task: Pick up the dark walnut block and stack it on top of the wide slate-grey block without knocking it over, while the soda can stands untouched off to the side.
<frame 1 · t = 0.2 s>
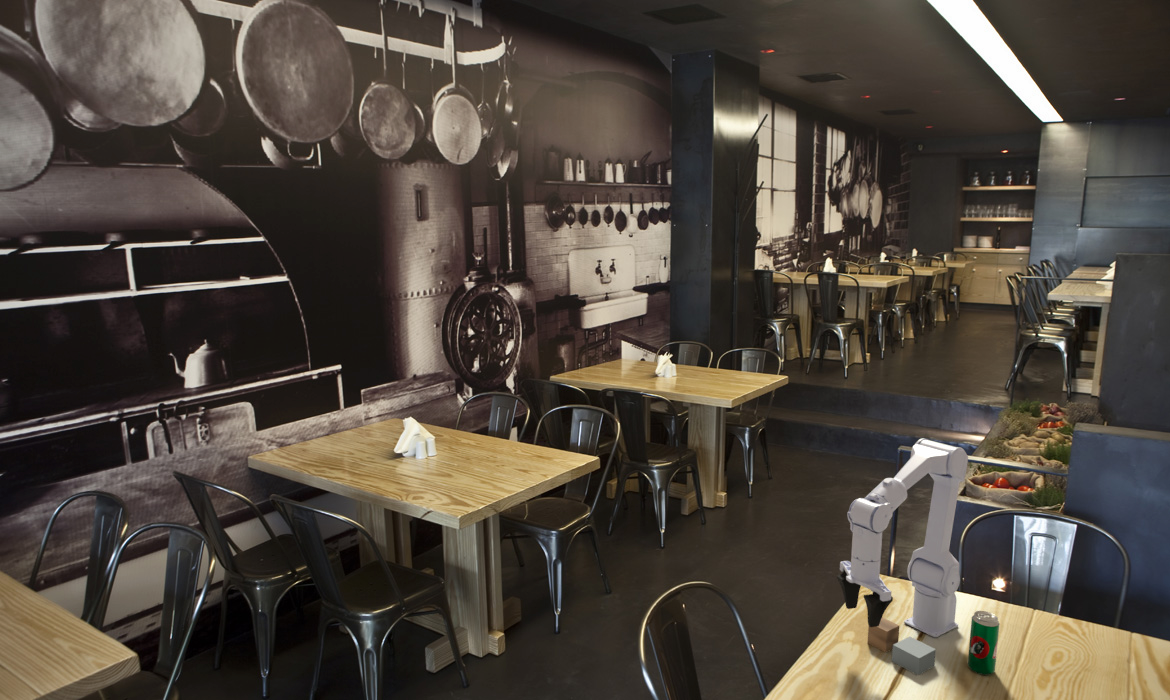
hand: (862, 616, 157), 10 cm above the table, tool pointing down, fingers open, 7 cm apart
soda can: (980, 670, 155), on the table
slate block: (912, 664, 157), on the table
walnut block: (882, 645, 164), on the table
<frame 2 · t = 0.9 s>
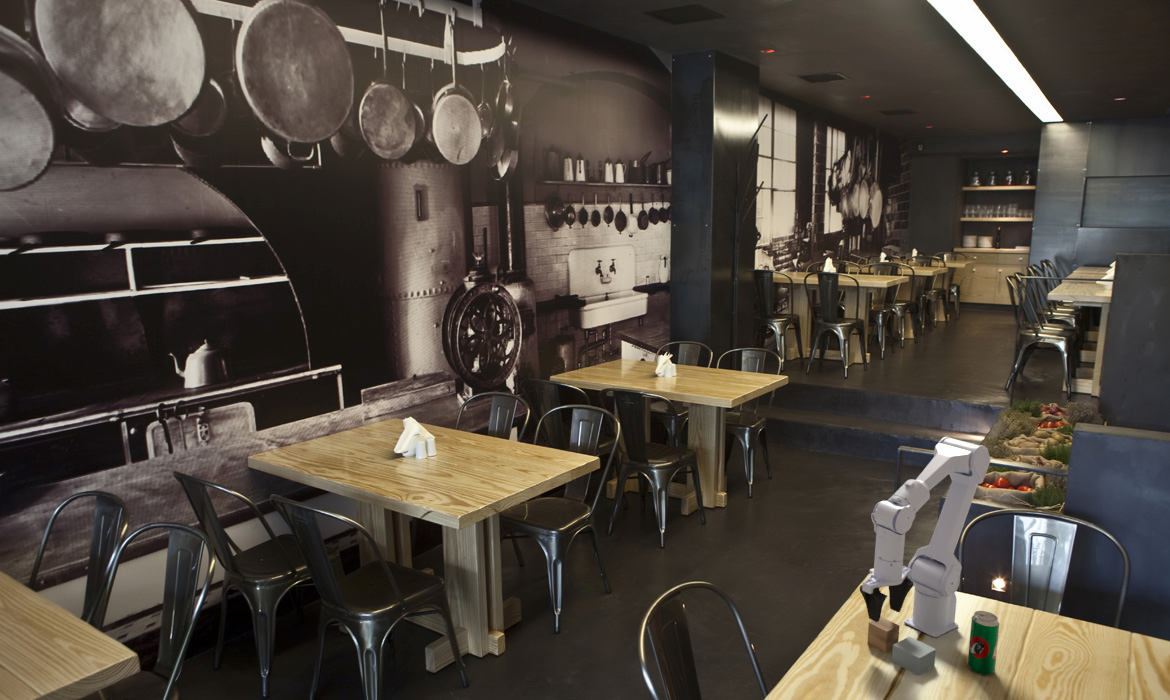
hand: (884, 614, 163), 7 cm above the table, tool pointing down, fingers open, 7 cm apart
nothing on the table moved.
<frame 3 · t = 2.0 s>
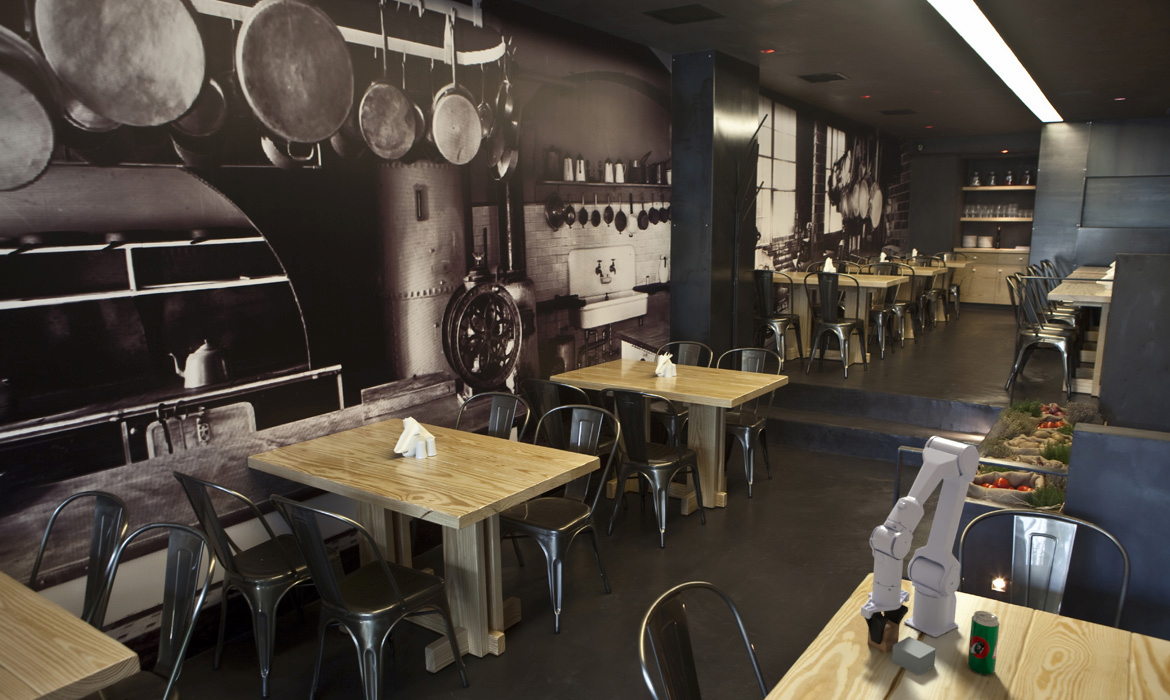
hand: (883, 638, 164), 1 cm above the table, tool pointing down, fingers closed on walnut block, 4 cm apart
walnut block: (882, 644, 164), on the table, touching gripper
everything else where it was.
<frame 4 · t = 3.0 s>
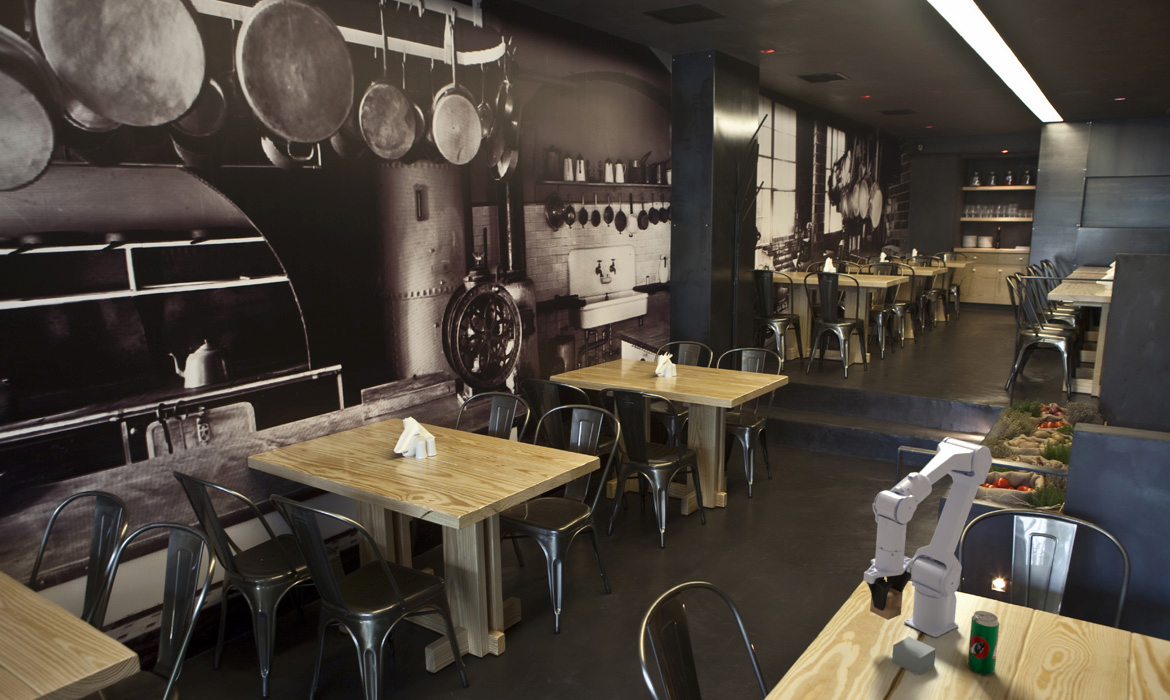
hand: (886, 605, 162), 9 cm above the table, tool pointing down, fingers closed on walnut block, 4 cm apart
walnut block: (885, 612, 162), point 8 cm above the table, touching gripper
everything else where it was.
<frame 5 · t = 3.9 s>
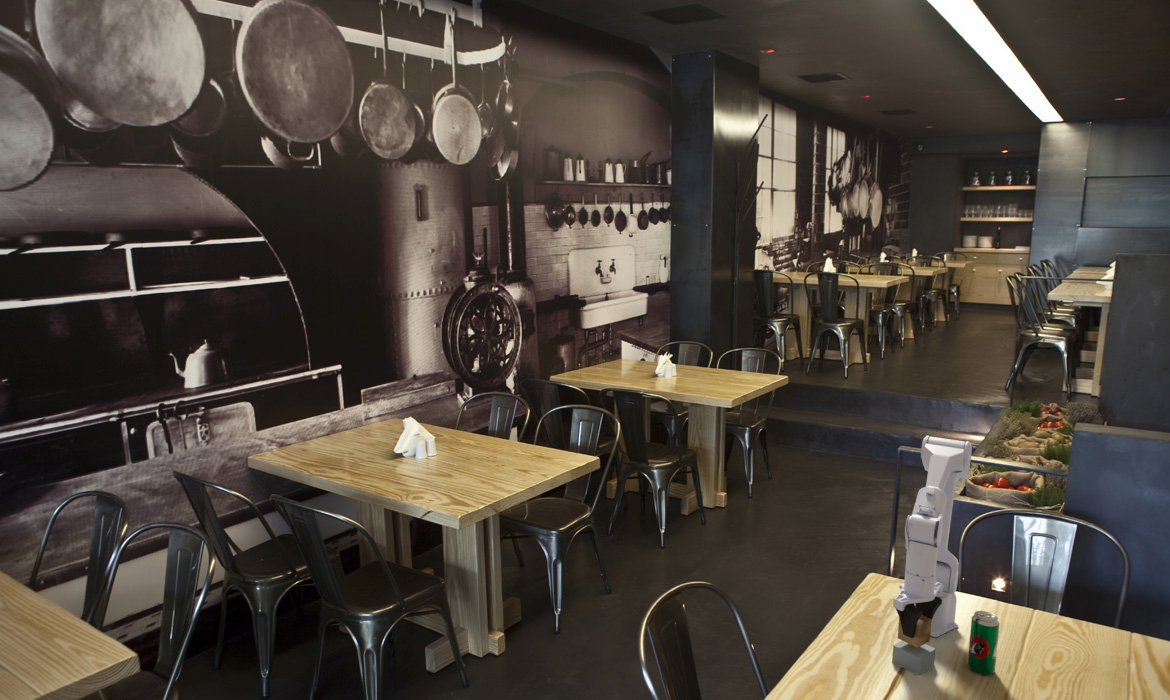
hand: (915, 632, 156), 7 cm above the table, tool pointing down, fingers closed on walnut block, 4 cm apart
walnut block: (913, 639, 156), point 5 cm above the table, touching gripper
everything else where it was.
when the fingers open (7 cm above the table, at t = 4.4 s): walnut block drops 1 cm, resting on slate block.
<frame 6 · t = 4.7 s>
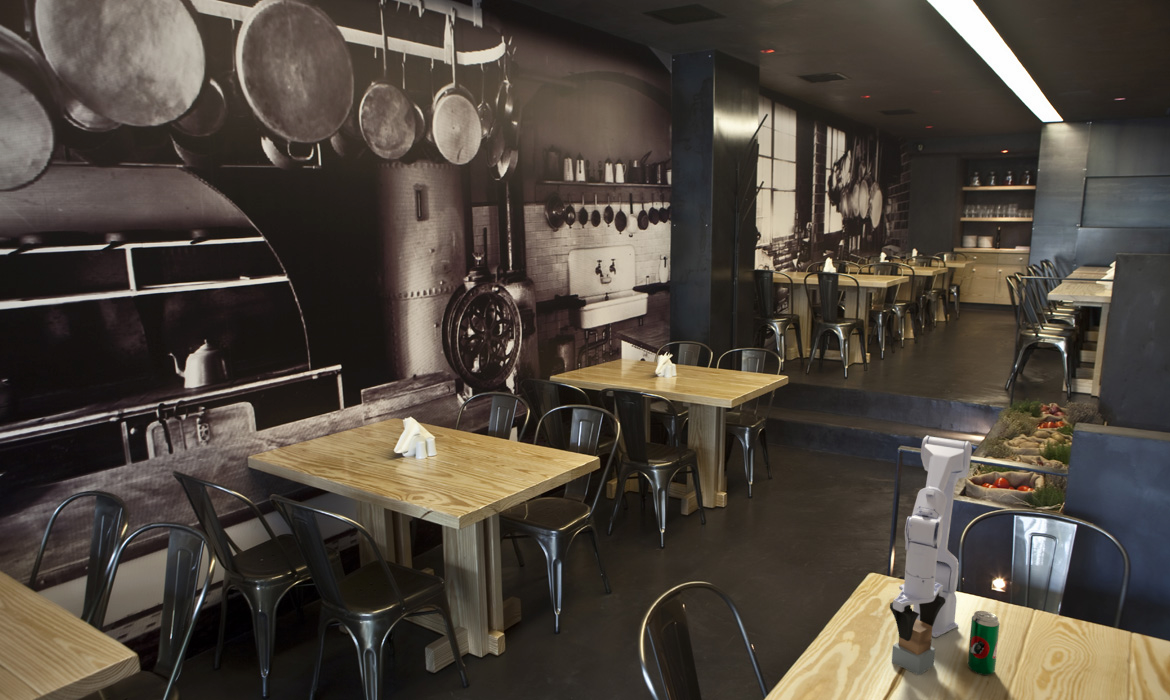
hand: (915, 633, 156), 7 cm above the table, tool pointing down, fingers open, 7 cm apart
slate block: (912, 664, 157), on the table, touching walnut block
walnut block: (914, 646, 156), point 4 cm above the table, touching slate block
everything else where it was.
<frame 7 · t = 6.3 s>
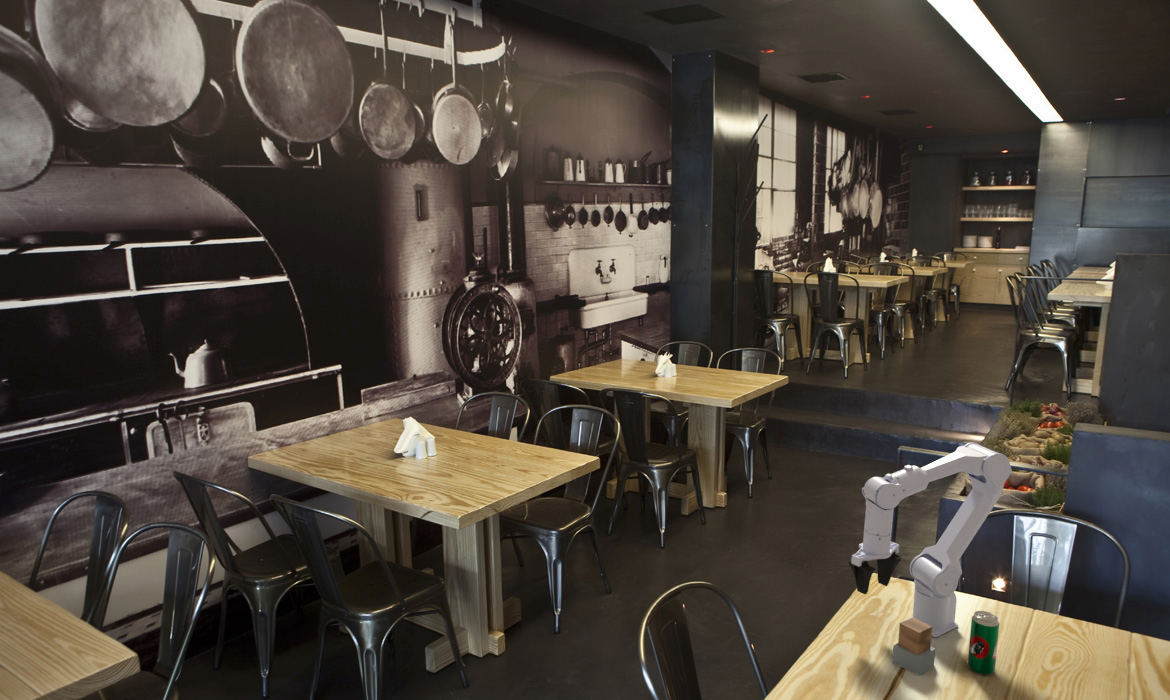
hand: (872, 588, 168), 10 cm above the table, tool pointing down, fingers open, 7 cm apart
slate block: (912, 664, 157), on the table
walnut block: (914, 646, 156), point 4 cm above the table
everything else where it was.
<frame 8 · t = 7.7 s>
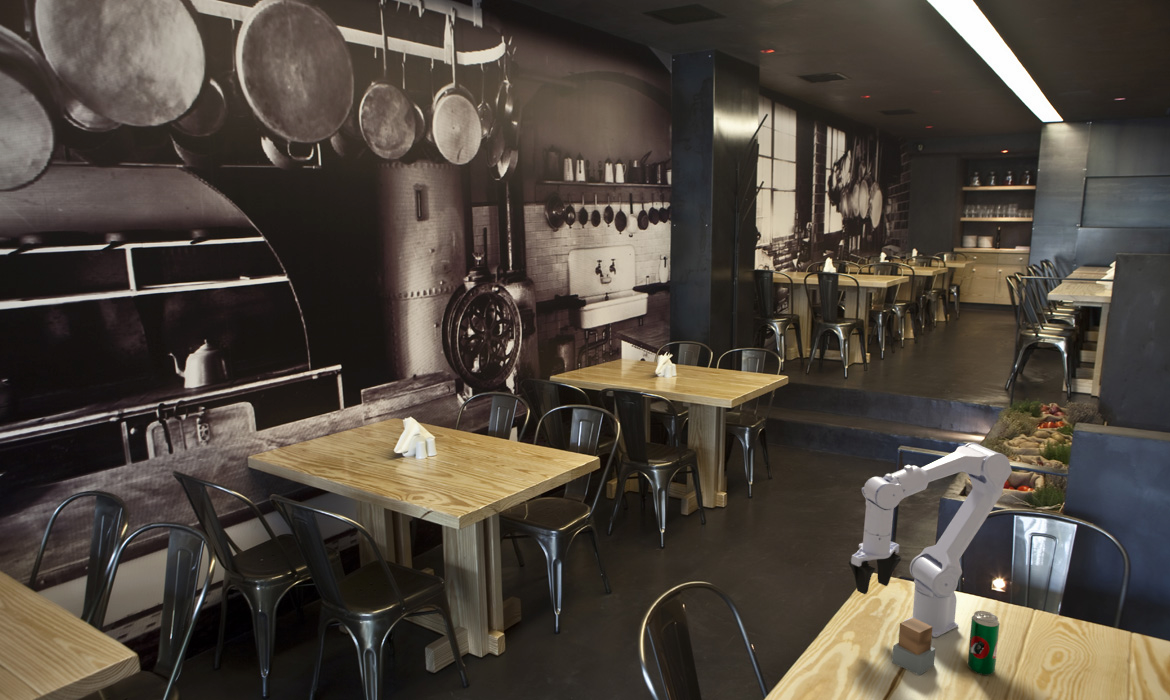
hand: (872, 588, 168), 10 cm above the table, tool pointing down, fingers open, 7 cm apart
slate block: (912, 664, 157), on the table, touching walnut block
walnut block: (914, 647, 156), point 4 cm above the table, touching slate block
everything else where it was.
at the end: walnut block 0.1 cm off-centre on the slate block, point 4.0 cm above the slate block's base; walnut block tilted 0°; slate block moved 0.2 cm from its start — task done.
